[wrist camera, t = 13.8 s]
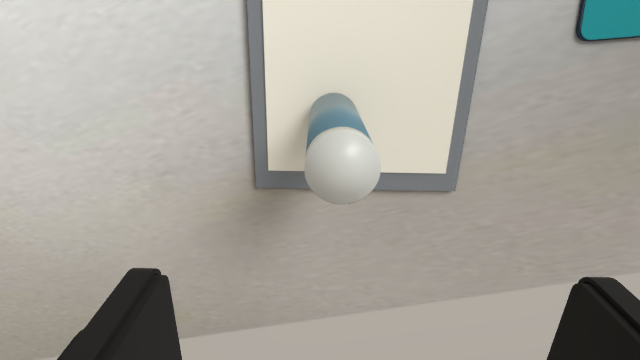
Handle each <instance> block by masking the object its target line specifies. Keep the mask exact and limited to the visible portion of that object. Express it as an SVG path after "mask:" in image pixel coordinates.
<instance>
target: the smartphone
mask: <svg viewBox="0 0 640 360" xmlns="http://www.w3.org/2000/svg"><path fill="white" fill-rule="evenodd" d="M576 33H577V36H578V38H580V39H581V40H583V41H597V40H609V39H622V38H634V37H640V0H581V5H580V12H579V19H578V23H577V28H576Z"/></svg>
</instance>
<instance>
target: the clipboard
mask: <svg viewBox="0 0 640 360" xmlns="http://www.w3.org/2000/svg"><path fill="white" fill-rule="evenodd" d="M487 5H488V0H247V15H248V36H249V56H250V77H251V97H252V117H253V138H254V158H255V179H256V188H289V189H310V187H309V185H308V183H307V181H306V178H305V171H304V168H305V157H306V146H307V136H308V125H309V114H310V110H311V107H312V105H313V104H314V102H315V101H316V100H317V99H318V98H319V97H321V96H323V95H325V94H328V93H339V94H343V95H345V96H347V97H348V98H349V99H350V100H351V101H352V102H353V103H354V105H355V107H356V109H357V111H358V113H359V115H360V117H361V119H362V121H363V123H364V126H365V128H366V130H367V132H368V134H369V136H370V138H371V140H372V142H373V144H374V147H375V149H376V151H377V153H378V155H379V158H380V163H381V173H380V177H379V180H378V182H377V184H376V186H375V188H374V189H373V190H409V191H455V189H456V183H457V177H458V171H459V166H460V160H461V154H462V148H463V143H464V137H465V131H466V125H467V120H468V114H469V108H470V102H471V97H472V91H473V85H474V80H475V74H476V68H477V62H478V57H479V51H480V45H481V39H482V34H483V28H484V22H485V16H486V11H487Z"/></svg>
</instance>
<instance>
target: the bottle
mask: <svg viewBox="0 0 640 360" xmlns="http://www.w3.org/2000/svg"><path fill="white" fill-rule="evenodd" d="M304 171H305V178H306V181H307V183H308V185H309V187H310V189H311V190H312V191H313V192H314V193H315V194H316V195H317V196H318V197H319V198H321V199H323V200H325V201H327V202H330V203H333V204H350V203H354V202H357V201H359V200H361V199H363V198H364V197H366V196H367V195H368V194H369V193H370V192H371V191H372V190H373V189H374V188H375V186H376V184H377V182H378V180H379V177H380V173H381V163H380V158H379V155H378V153H377V151H376V149H375V147H374V144H373V142H372V140H371V138H370V136H369V134H368V132H367V130H366V128H365V126H364V123H363V121H362V119H361V117H360V115H359V113H358V111H357V109H356V107H355V105H354V103H353V102H352V101H351V100H350V99H349V98H348V97H347V96H345V95H343V94H339V93H328V94H325V95H323V96H321V97H319V98H318V99H317V100H316V101H315V102H314V104H313V105H312V107H311V110H310V114H309V125H308V136H307V146H306V157H305V168H304Z"/></svg>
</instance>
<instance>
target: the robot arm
mask: <svg viewBox="0 0 640 360" xmlns="http://www.w3.org/2000/svg"><path fill="white" fill-rule="evenodd" d="M57 360H182V356H181V350H180V344H179V338H178V333H177V327H176V321H175V315H174V309H173V303H172V297H171V291H170V285H169V280H168V277H167V276H166V275H161V272H160V270H159V269H152V268H132V269H130V270H129V271H128V272H127V273H126V275H125V276H124V277H123V279H122V280H121V281H120V283H119V284H118V285H117V287H116V288H115V289H114V290H113V292H112V293H111V294H110V296H109V297H108V298H107V300H106V301H105V302H104V304H103V305H102V306H101V307H100V309H99V310H98V311H97V313H96V314H95V315H94V317H93V318H92V319H91V321H90V322H89V323H88V325H87V326H86V327H85V328H84V329H83V330H82V331H80V332H79V333H78V334H77V335H76V336H75V337H74V338H73V340H72V341H71V342H70V344H69V345H68V346H67V347H66V349H65V350H64V351H63V353H62V354H61V355H60V356H59V358H58V359H57ZM547 360H640V300H638V299H637V298H636V297H635V296H634V295H633V294H632V293H631V292H629V291H628V290H627V289H626V288H625V287H624V286H623V285H622V284H621V283H619V282H618V281H617V280H615V279H613V278H609V277H584V278H582V279H581V280H579V282H578V283H577V284H575V285H573V287H572V289H571V292H570V295H569V297H568V300H567V303H566V306H565V309H564V312H563V315H562V317H561V320H560V323H559V326H558V329H557V332H556V335H555V338H554V340H553V343H552V346H551V349H550V352H549V354H548V357H547Z"/></svg>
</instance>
